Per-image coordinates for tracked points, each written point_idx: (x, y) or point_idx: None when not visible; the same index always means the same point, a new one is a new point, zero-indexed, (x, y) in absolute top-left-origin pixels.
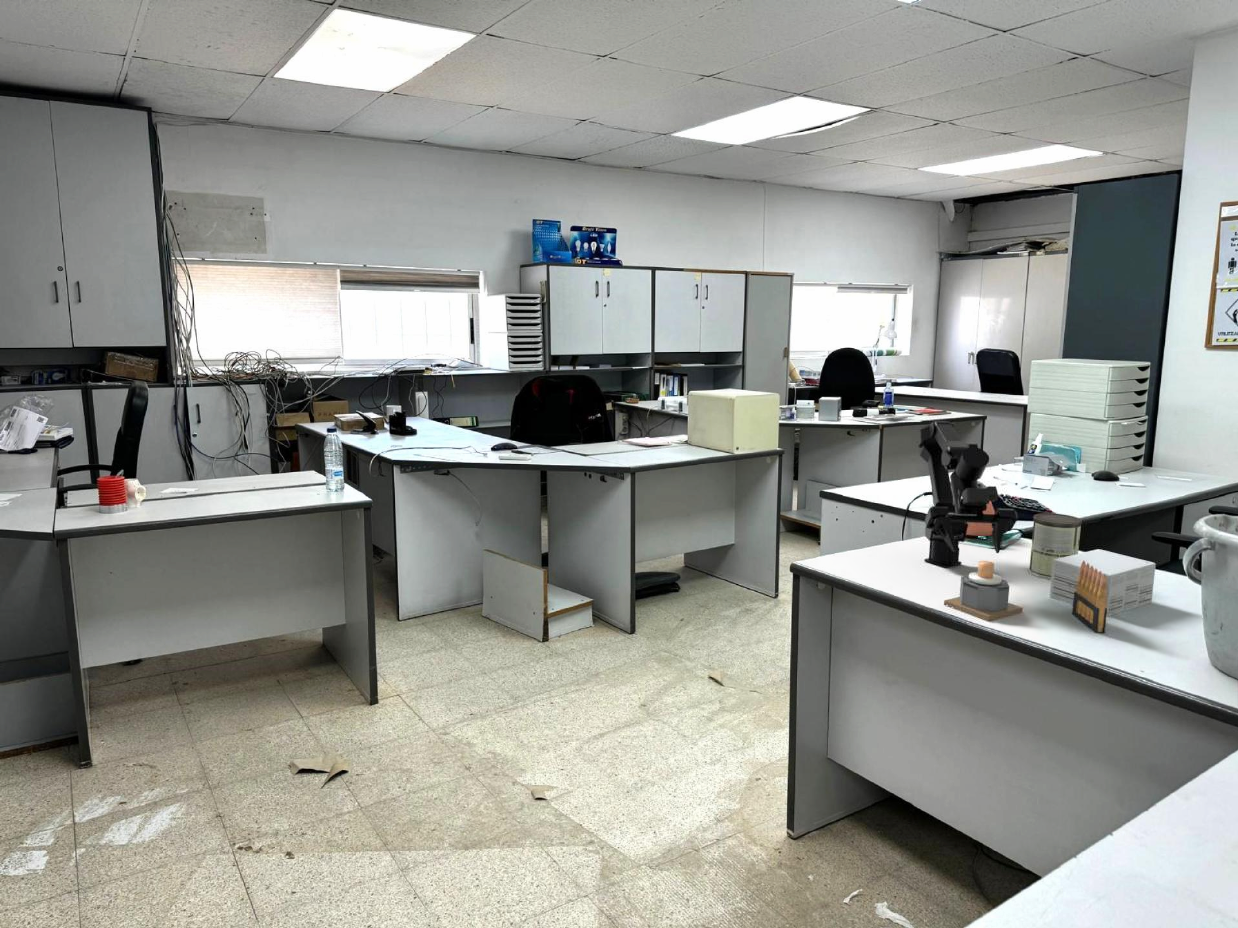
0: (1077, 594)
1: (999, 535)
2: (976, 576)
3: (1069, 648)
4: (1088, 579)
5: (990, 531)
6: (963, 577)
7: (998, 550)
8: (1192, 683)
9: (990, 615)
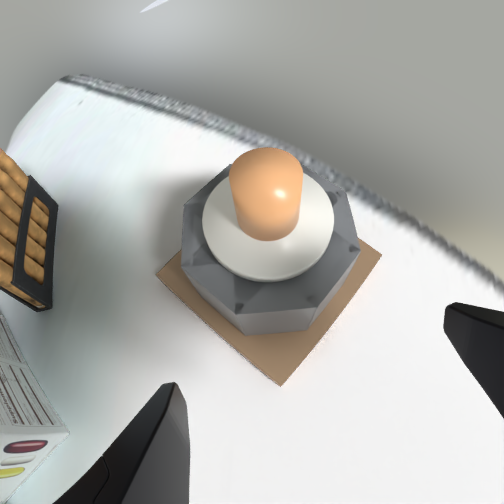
0: (16, 264)
1: (118, 463)
2: (303, 201)
3: (134, 120)
4: None
5: None
6: (351, 247)
7: (169, 383)
8: (51, 102)
9: None
